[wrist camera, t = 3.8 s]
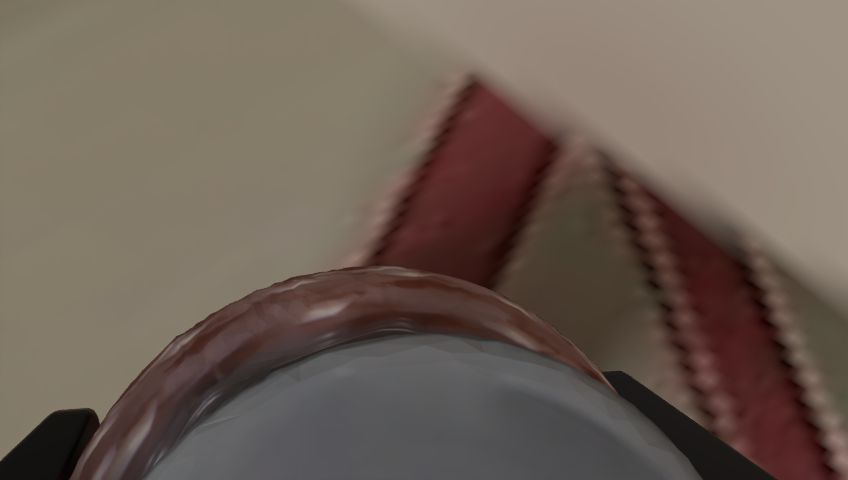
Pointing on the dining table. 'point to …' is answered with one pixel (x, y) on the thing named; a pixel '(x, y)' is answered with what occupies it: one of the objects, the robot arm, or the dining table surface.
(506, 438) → the supplement bottle
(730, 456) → the robot arm
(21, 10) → the dining table surface
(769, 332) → the dining table surface
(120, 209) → the dining table surface
